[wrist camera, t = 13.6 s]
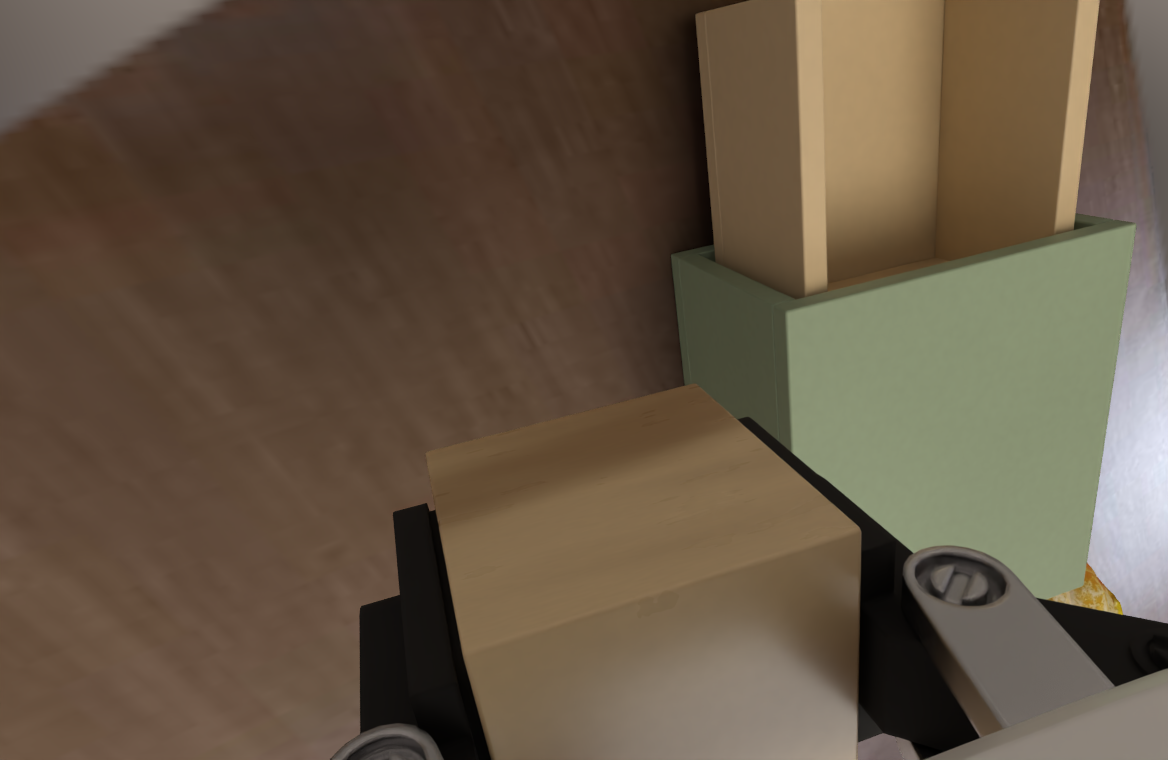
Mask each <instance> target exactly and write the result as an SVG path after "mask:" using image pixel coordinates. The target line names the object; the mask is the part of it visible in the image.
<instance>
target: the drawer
mask: <svg viewBox="0 0 1168 760" xmlns="http://www.w3.org/2000/svg"><path fill="white" fill-rule="evenodd" d="M1099 1H1100V0H749V1H745V2H741V3H737V4H733V5H729V6H725V7H721V8H716V9H712V10H708V11H704V12H700V13H697V14H696V16H695V17H696V29H697V41H698V53H699V66H700V78H701V90H702V102H703V115H704V127H705V139H706V151H707V163H708V176H709V188H710V200H711V212H712V224H713V237H714V249H715V261H716V263H718V264H720V265H722V266H724V267H726V268H729V269H731V270H733V271H735V272H737V273H739V274H742V275H744V276H746V277H748V278H750V279H752V280H755V281H757V282H759V283H761V284H763V285H766V286H768V287H770V288H772V289H774V290H776V291H779V292H781V293H783V294H785V295H787V296H790V297H792V298H794V299H795V300H796V299H800V298H804V297H808V296H812V295H816V294H820V293H824V292H828V291H832V290H836V289H840V288H844V287H848V286H852V285H856V284H860V283H864V282H868V281H872V280H876V279H880V278H884V277H888V276H893V275H897V274H901V273H905V272H909V271H913V270H917V269H921V268H925V267H929V266H933V265H937V264H941V263H945V262H949V261H953V260H957V259H961V258H965V257H969V256H973V255H977V254H981V253H985V252H989V251H993V250H997V249H1001V248H1005V247H1009V246H1013V245H1017V244H1021V243H1025V242H1029V241H1033V240H1037V239H1041V238H1045V237H1049V236H1053V235H1057V234H1061V233H1065V232H1069V231H1073V230H1074V221H1075V212H1076V203H1077V195H1078V186H1079V177H1080V168H1081V159H1082V151H1083V142H1084V133H1085V124H1086V115H1087V107H1088V98H1089V89H1090V80H1091V71H1092V63H1093V54H1094V45H1095V36H1096V27H1097V18H1098V10H1099Z"/></svg>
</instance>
